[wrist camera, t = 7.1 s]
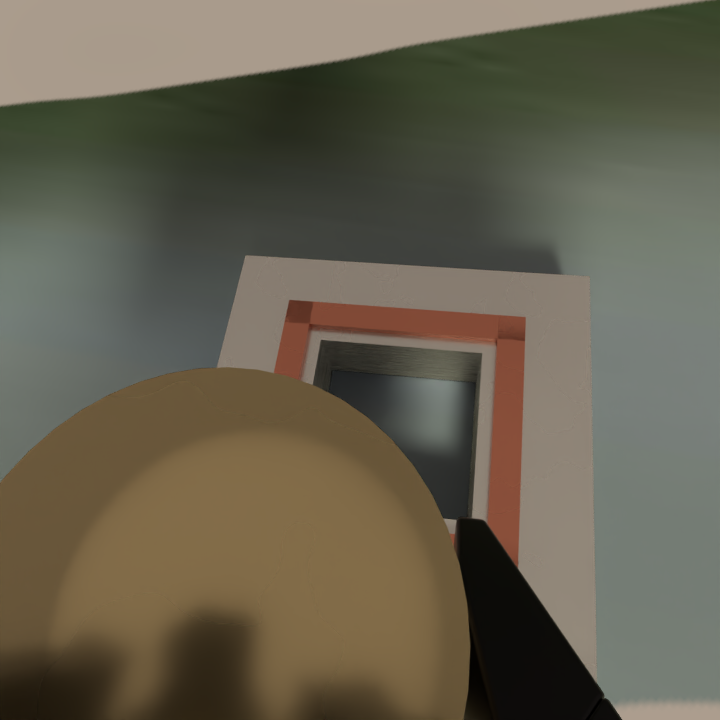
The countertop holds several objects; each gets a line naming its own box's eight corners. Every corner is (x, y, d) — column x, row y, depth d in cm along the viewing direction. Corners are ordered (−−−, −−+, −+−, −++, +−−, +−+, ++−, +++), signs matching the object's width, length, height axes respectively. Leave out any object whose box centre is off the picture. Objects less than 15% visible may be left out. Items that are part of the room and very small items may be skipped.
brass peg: (475, 606, 14) (589, 594, 4) (359, 763, 13) (157, 1227, 3) (343, 491, 16) (201, 285, 6) (230, 624, 15) (-184, 653, 5)
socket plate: (574, 984, 17) (607, 1064, 14) (125, 877, 19) (68, 927, 16) (571, 313, 25) (591, 272, 22) (263, 291, 27) (243, 251, 24)
